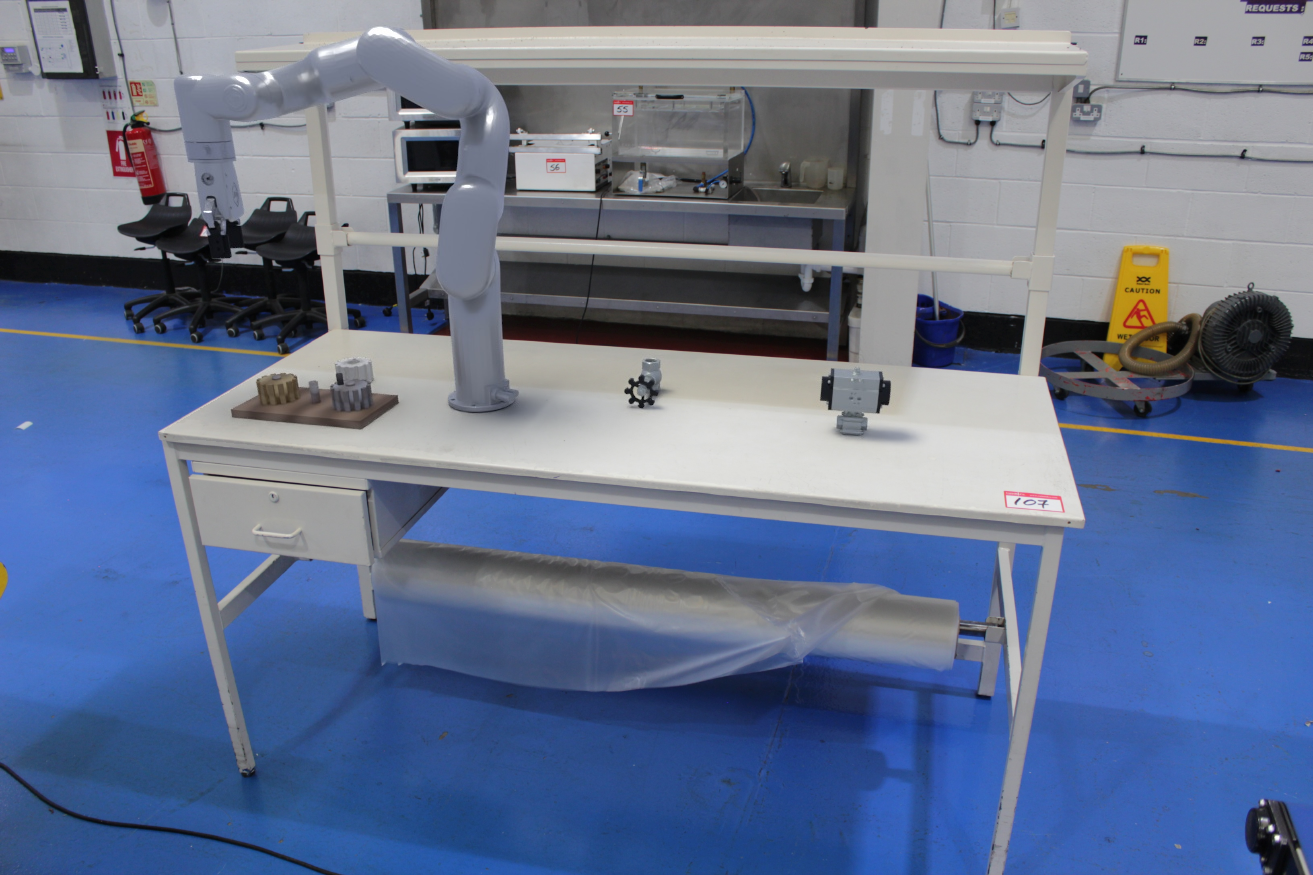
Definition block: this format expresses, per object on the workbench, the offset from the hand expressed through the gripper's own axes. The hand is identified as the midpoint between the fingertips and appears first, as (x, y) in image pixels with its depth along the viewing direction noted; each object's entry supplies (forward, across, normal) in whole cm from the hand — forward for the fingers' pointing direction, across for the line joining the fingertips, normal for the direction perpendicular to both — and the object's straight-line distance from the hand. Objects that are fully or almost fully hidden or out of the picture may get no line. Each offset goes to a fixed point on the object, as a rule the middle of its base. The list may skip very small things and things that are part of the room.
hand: (228, 253), depth 156 cm
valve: (+29, -10, -74) cm, 80 cm away
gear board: (+29, -5, -12) cm, 32 cm away
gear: (+29, +11, -17) cm, 35 cm away
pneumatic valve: (+29, -35, -106) cm, 115 cm away
